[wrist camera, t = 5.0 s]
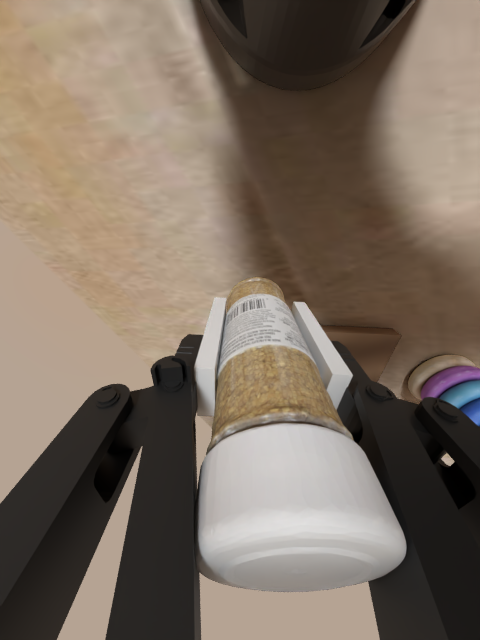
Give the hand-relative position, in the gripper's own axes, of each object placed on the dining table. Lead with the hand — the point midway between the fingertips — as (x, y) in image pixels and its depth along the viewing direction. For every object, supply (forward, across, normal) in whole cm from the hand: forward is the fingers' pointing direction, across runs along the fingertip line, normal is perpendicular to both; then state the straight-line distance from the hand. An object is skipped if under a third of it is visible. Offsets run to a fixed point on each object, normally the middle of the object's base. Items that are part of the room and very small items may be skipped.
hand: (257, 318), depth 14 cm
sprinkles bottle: (+3, 0, 0) cm, 3 cm away
